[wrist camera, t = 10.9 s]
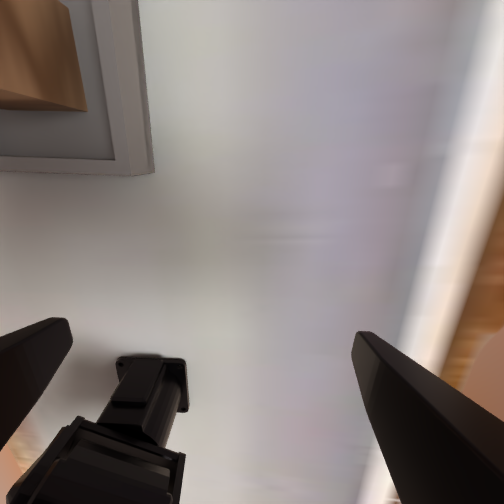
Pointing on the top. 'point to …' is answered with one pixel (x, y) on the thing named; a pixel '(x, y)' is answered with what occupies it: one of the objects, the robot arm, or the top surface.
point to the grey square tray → (91, 103)
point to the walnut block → (38, 58)
